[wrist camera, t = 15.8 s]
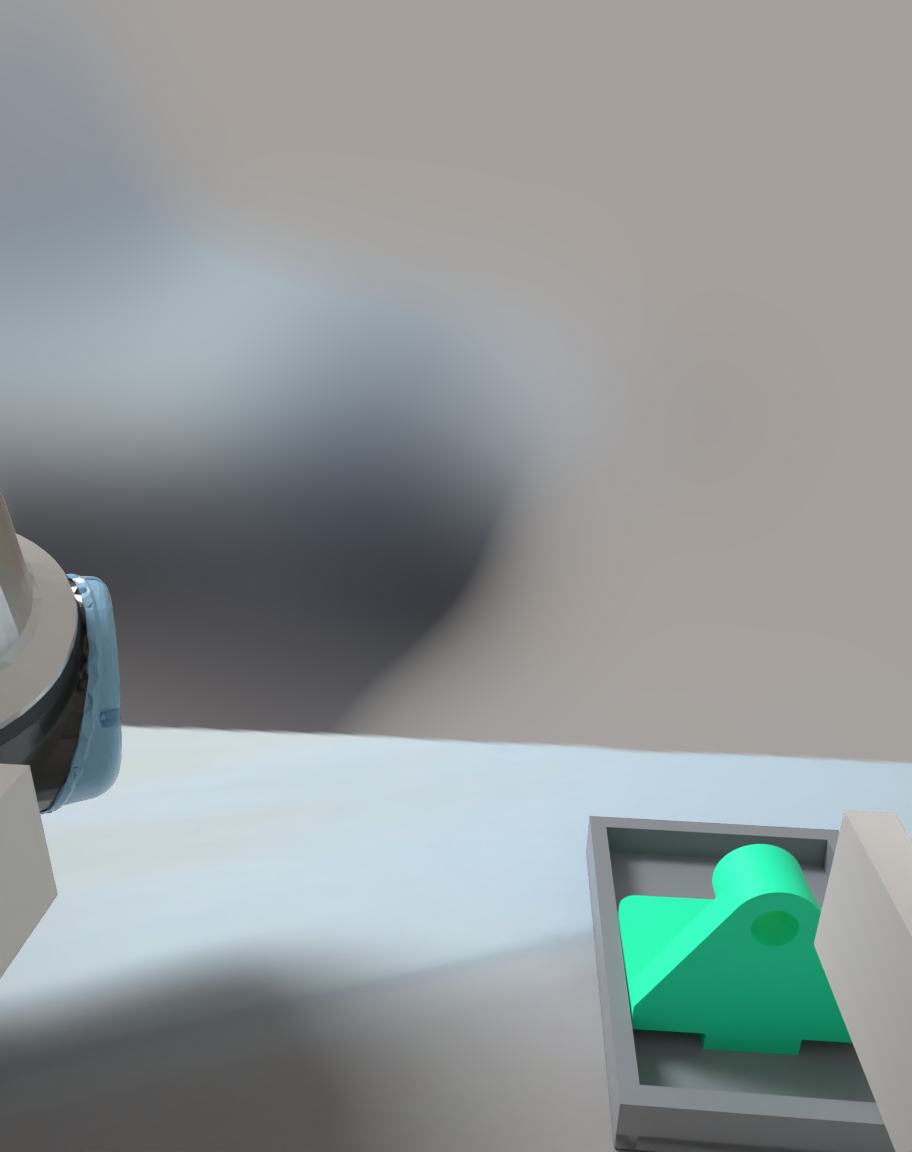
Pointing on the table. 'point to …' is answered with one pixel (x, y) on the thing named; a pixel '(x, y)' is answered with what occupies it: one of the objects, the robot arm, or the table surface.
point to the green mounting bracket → (733, 959)
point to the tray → (677, 1059)
